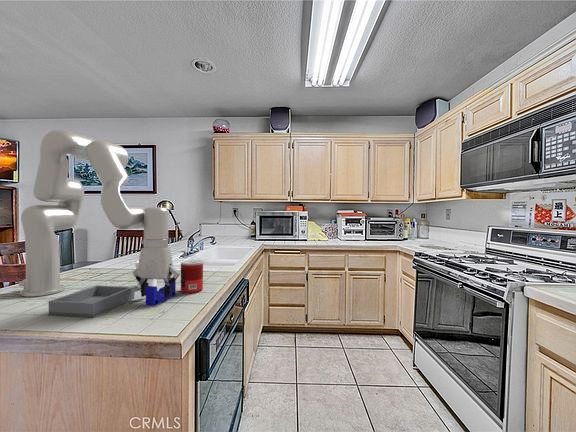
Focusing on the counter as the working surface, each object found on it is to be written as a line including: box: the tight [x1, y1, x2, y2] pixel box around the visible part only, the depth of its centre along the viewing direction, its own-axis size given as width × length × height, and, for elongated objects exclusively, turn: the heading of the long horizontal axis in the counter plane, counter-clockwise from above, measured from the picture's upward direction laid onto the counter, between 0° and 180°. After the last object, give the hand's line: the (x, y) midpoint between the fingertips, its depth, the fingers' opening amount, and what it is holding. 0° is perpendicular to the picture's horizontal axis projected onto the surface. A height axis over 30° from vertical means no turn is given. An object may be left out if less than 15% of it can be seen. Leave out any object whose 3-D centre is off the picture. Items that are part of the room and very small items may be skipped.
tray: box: [48, 284, 135, 319], centre depth 93 cm, size 14×18×4 cm
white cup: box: [135, 260, 158, 289], centre depth 116 cm, size 8×8×10 cm
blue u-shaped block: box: [145, 280, 177, 307], centre depth 100 cm, size 12×4×6 cm, turn 169°
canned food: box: [180, 259, 204, 295], centre depth 111 cm, size 8×8×11 cm
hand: (156, 295), depth 100 cm, fingers open, 7 cm apart
